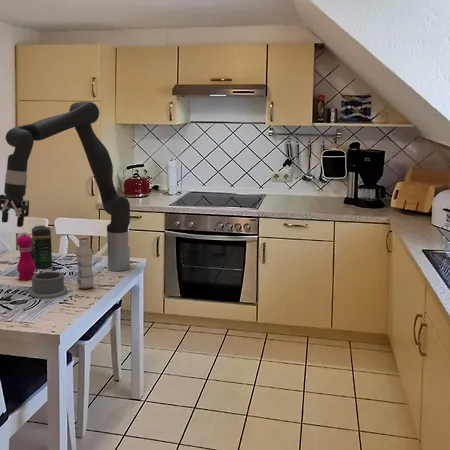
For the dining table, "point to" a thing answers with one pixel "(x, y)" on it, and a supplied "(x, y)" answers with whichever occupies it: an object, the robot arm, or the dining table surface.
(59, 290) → the bottle holder
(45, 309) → the dining table surface
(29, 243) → the pepper mill
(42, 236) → the coffee jar
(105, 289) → the dining table surface
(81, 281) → the plastic bottle
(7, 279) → the dining table surface
